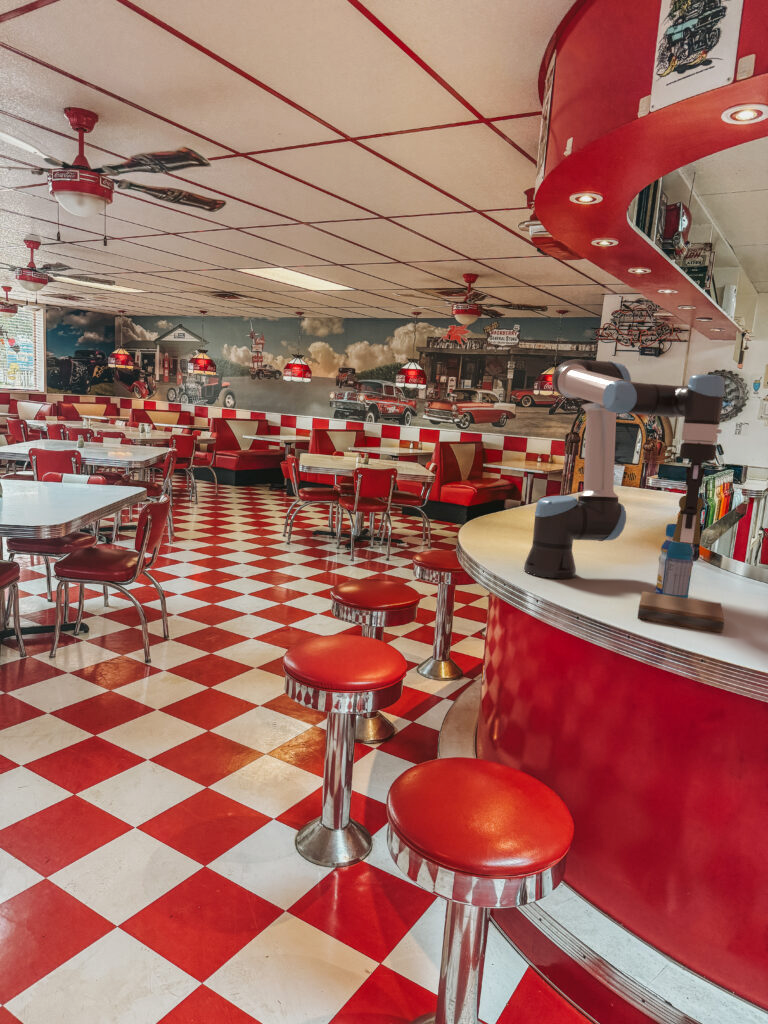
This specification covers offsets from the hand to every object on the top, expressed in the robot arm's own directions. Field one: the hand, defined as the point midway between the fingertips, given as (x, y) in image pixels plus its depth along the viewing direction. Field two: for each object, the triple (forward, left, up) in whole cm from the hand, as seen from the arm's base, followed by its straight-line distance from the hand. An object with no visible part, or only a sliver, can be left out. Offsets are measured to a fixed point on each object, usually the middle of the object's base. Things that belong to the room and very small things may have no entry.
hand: (686, 540), depth 153 cm
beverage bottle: (-1, +19, -19) cm, 27 cm away
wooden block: (+1, 0, -19) cm, 19 cm away
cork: (0, 0, -1) cm, 1 cm away
